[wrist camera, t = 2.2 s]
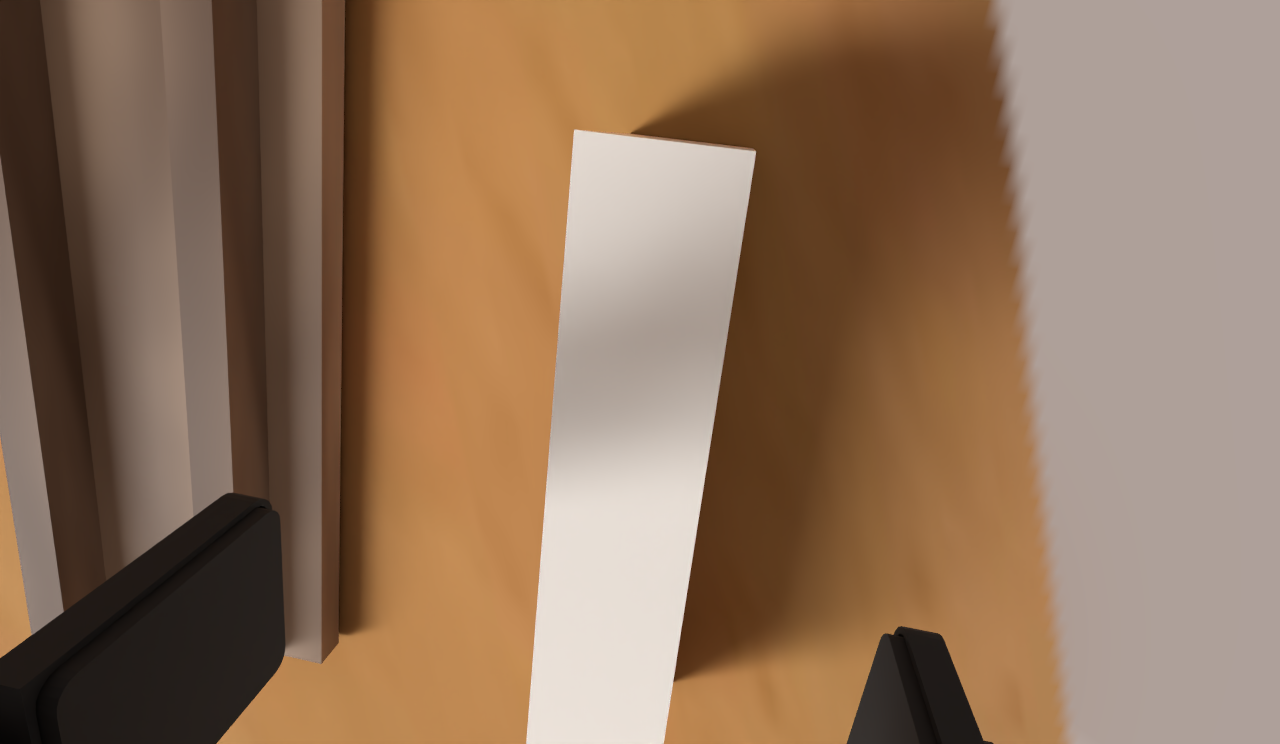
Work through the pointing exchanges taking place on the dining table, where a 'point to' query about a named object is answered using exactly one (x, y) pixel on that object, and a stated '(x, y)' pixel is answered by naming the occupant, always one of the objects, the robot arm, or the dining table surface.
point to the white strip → (631, 426)
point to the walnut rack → (171, 285)
